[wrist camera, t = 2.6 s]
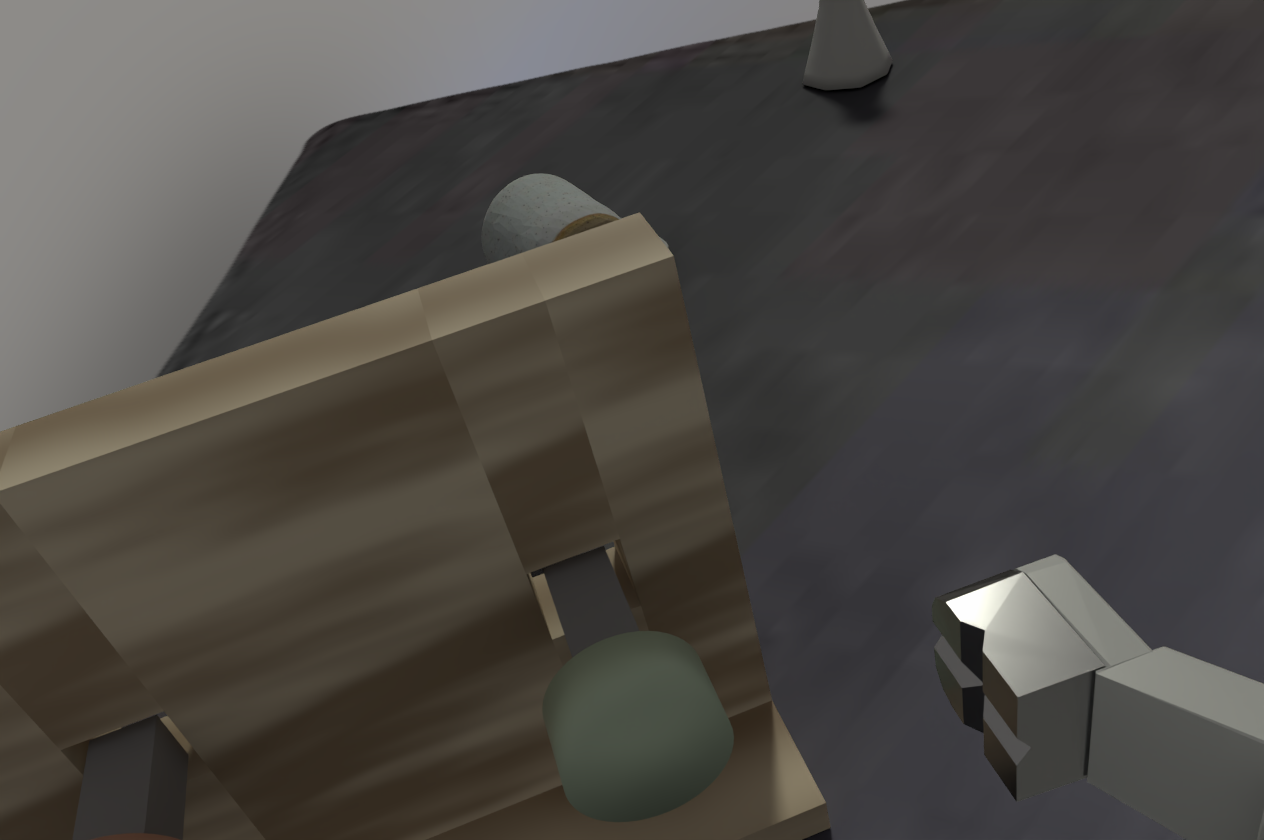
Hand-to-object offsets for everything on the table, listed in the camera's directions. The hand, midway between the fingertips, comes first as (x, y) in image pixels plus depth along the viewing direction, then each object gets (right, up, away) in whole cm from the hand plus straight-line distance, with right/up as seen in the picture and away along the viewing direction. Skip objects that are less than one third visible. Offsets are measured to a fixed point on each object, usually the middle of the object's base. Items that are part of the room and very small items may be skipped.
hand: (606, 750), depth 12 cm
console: (-6, -11, +26) cm, 29 cm away
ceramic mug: (-2, +12, +56) cm, 57 cm away
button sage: (0, -5, +19) cm, 20 cm away
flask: (+18, +32, +75) cm, 84 cm away
